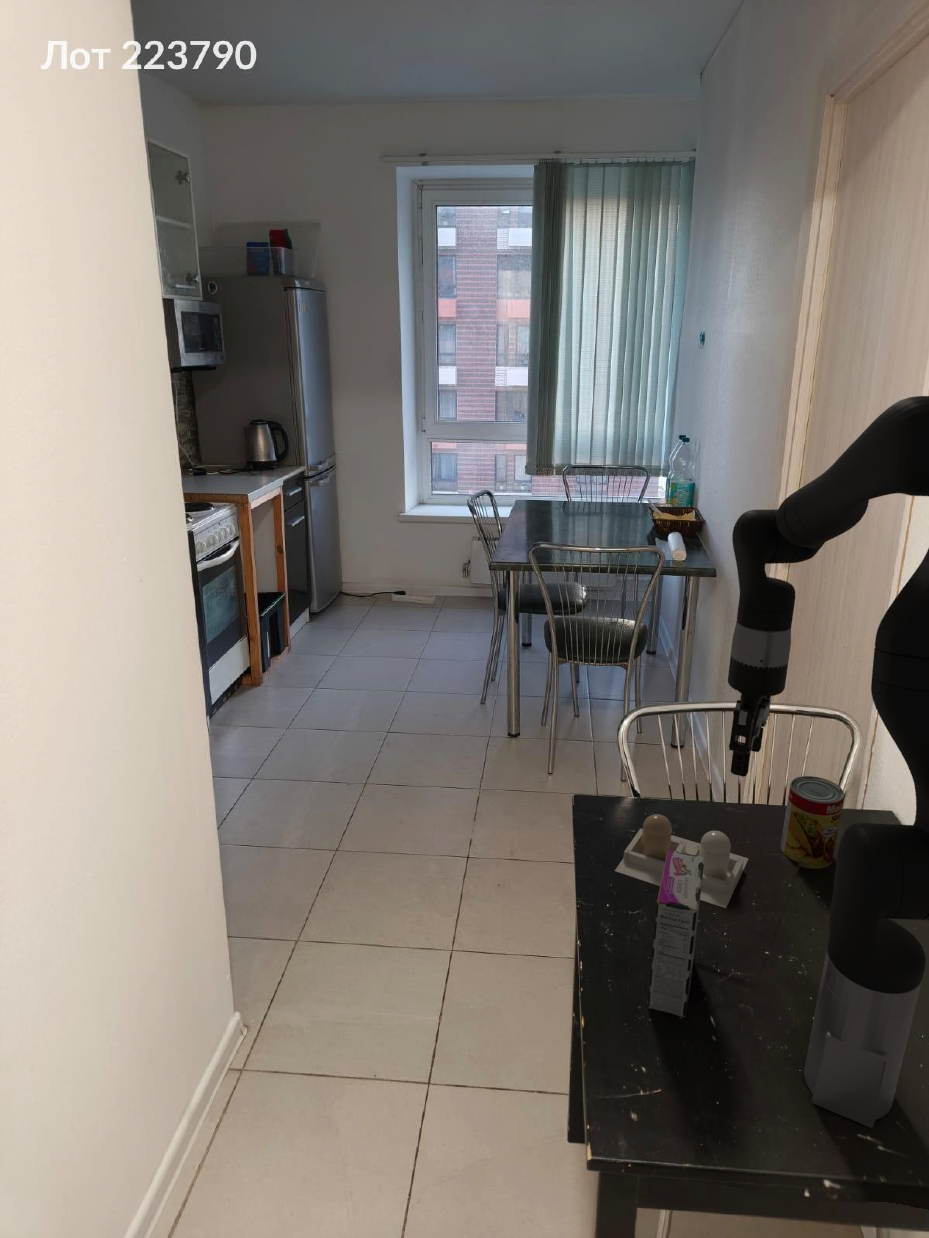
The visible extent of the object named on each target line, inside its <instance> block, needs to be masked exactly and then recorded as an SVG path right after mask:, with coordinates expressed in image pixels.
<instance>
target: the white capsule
mask: <svg viewBox="0 0 929 1238" xmlns="http://www.w3.org/2000/svg"><path fill="white" fill-rule="evenodd" d="M699 844H700V852H699V856H702V857H704V868H703V874H704V875H707V876H711V877H714V878H717V879H720V880H723V881H724V880H725V879H726V877H727V870H728V864H729V857H730V853H731V850H732V849H731V848H732V845H731V841H730V838H729V837H728V836H727V835H726V834H725V833H724V832H722V831H720V830H710V831H708V832H706V833H704V835H703V836H702V838H701V839H700V843H699Z"/></svg>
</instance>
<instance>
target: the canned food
mask: <svg viewBox="0 0 929 1238" xmlns="http://www.w3.org/2000/svg"><path fill="white" fill-rule="evenodd" d="M844 797H845V792H844V790H843V788H842V787H841V786H839V784H837V783H835V782H834V781H831V780H829V779H826V778H823V777H818V776H812V775H803V776H798V777H795V778H793V779H792V780H791V782H790V784H789V790H788V797H787V804H786V809H785V816H784V823H783V828H782V834H781V835H782V836H781V840H780V849H781V851H782V853H783V854H784V855H785V856H786V857H788V858H789V859H790V860H792V861H794V862H797V866H799V867H801V868H806V869H812V870H813V869H814V870H815V869H824V868H827V867H829V866H830V865H831V864H832V862H833V860H834V859H833V858H834V852H835V847H836V841H837V836H838V830H839V825H840V819H841V815H842V811H843V804H844Z"/></svg>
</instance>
